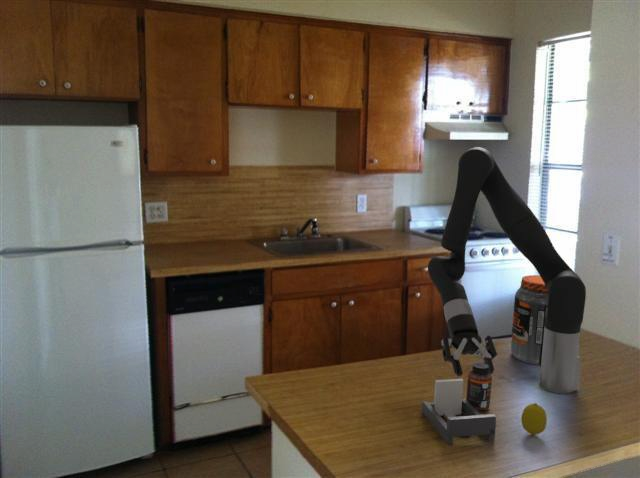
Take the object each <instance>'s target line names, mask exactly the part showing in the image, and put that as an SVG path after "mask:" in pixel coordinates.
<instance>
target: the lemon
mask: <svg viewBox="0 0 640 478" xmlns="http://www.w3.org/2000/svg"><path fill="white" fill-rule="evenodd" d="M521 424H522V427H523V429H524V430H525V431H526V432H527V433H528V434H530V435H531V436H532V437H533V436H535V435H540V434H541V433H543V432H544V430H545V429H546V427H547V413H546V411H545V409H544V408H543V407H542V406H541V405H540V404H538V403H536V402H534V403H530V404H528V405H526V406H525V407H524V409H523V410H522V413H521Z"/></svg>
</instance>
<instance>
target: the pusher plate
mask: <svg viewBox="0 0 640 478" xmlns="http://www.w3.org/2000/svg"><path fill="white" fill-rule="evenodd" d="M434 383H435V384H434V395H433V396H434V398H433V399H434V400H433V402H434V410H435V411H436V412H437V413H438V414H439V415H440V417H442V416H443V417H444V418H445V419H446V420H447V418H448V417H458V415H462V412H461V409H462V399H463V391H464V379H463V378H455V379H454V378H452V379H436V380H434Z"/></svg>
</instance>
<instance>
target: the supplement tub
mask: <svg viewBox="0 0 640 478" xmlns="http://www.w3.org/2000/svg"><path fill="white" fill-rule="evenodd" d="M548 297H549V292H548V290H547V287H546V285H545V283H544V282H543V280H542V278H541V276H540V275H539V274H537V275H536V274H531V275H525V276H523V277H522V278H521V281H520V287H519V288H517V290H516V291H515V294H514V301H513V304H514V305H513V314H512V315H513V316H512V327H511V328H512V329H511V342H510V353H511V354H512V356H513V357H514V358H516V359H517V360H520V361H522V362H523V363H527V364H531V365H537V366H541V359H542V348H543V337H544V326H545V318H546V315H547V307H548Z"/></svg>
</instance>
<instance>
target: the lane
mask: <svg viewBox="0 0 640 478" xmlns="http://www.w3.org/2000/svg"><path fill="white" fill-rule="evenodd" d="M421 409H422V410H421V413H422V414H423V415H424V417H425V419H427V420H428V422H429V423H430V425H432V427H433V428H434V429H435V431H436V432H437V433H438V434H439V436H440V437H441V438H442V440H443V441H444V443H446V444H447V445H448V446H450V445H453V444H454V438H456V437H459V438H460V437H467V436H480V435H481V436H482V435H483V436H484V438H486V439H487V440H488V441H489V442H495V436H496V426H497V425H496V424H497V416H496V415H495V414H494V413H492V414H491V413H489V414H481V413H480V412H479V411H478V410H476V409H475V408H474V407H473V406H472V405H471V404H470V403H469V402H468V401H467V400H466V398H465V397H464V398H463V397H462V409H461V414H463V415H462V416H457V417H448V418H447V419H446V421H445V420H444V419H443V418H442V416H440V415H439V414H438V413H437V412H436V411H435V410H434V401H433V402H429V401H428V400H423V401H422V407H421Z"/></svg>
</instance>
